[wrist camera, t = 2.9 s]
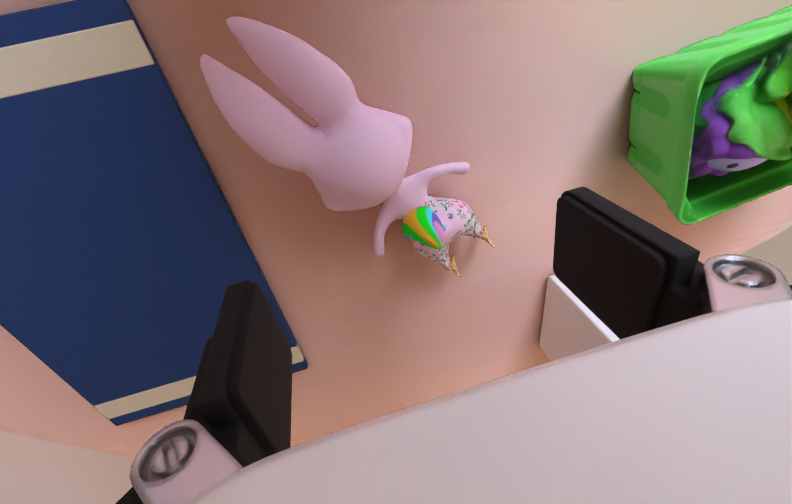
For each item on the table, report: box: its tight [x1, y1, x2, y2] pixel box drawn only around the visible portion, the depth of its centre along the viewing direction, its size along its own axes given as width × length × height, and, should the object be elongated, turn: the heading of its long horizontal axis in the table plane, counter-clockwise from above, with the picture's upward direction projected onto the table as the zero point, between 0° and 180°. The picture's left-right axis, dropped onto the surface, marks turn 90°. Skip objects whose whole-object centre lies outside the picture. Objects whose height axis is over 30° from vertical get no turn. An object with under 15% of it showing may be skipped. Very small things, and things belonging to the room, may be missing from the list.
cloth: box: [0, 0, 308, 426], centre depth 17 cm, size 20×12×1 cm, turn 10°
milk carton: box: [539, 274, 620, 362], centre depth 19 cm, size 7×7×19 cm
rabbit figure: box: [200, 16, 495, 277], centre depth 15 cm, size 6×6×15 cm
